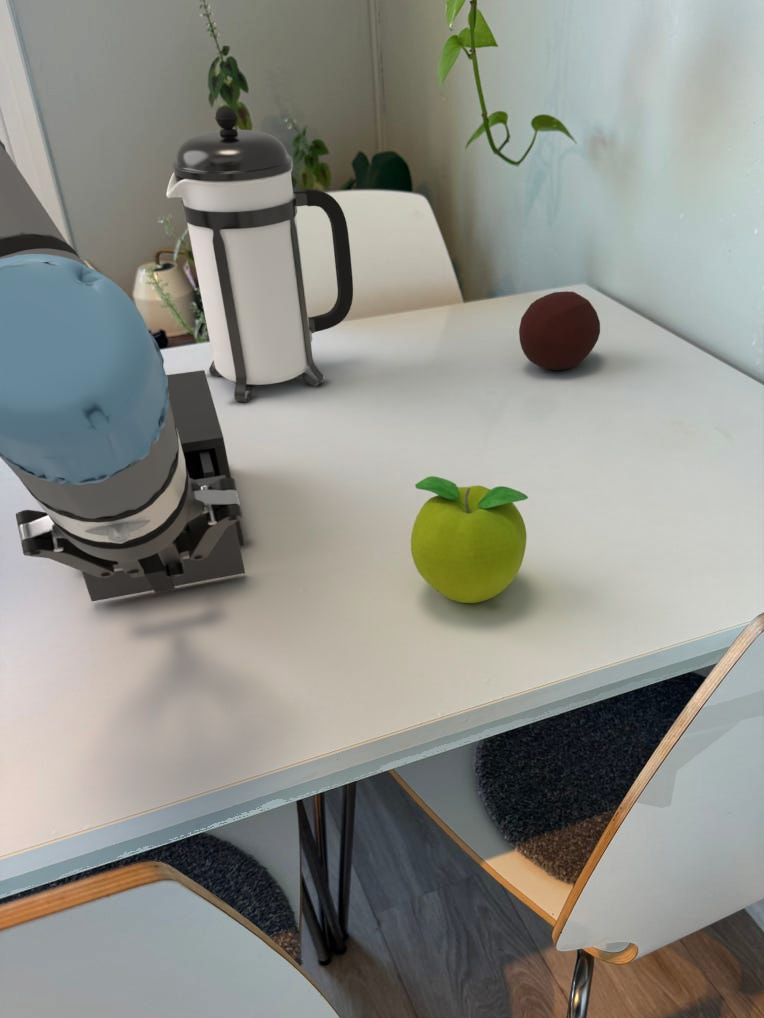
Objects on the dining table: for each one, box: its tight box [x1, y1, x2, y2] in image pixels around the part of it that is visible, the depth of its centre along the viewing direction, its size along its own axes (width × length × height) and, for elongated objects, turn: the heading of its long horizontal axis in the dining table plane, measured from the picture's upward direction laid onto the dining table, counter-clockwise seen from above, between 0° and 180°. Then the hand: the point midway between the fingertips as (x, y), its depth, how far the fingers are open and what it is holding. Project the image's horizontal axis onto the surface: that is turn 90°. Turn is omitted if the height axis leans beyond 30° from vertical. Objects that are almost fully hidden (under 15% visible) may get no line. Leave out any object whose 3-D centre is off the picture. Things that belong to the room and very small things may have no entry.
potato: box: [518, 290, 601, 371], centre depth 115 cm, size 9×12×9 cm
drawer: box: [81, 449, 246, 602], centre depth 79 cm, size 19×13×9 cm, turn 19°
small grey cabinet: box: [166, 369, 245, 546], centre depth 86 cm, size 16×14×11 cm
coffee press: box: [166, 105, 354, 403], centre depth 107 cm, size 17×16×30 cm
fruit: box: [410, 475, 529, 604], centre depth 75 cm, size 9×9×10 cm
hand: (161, 573), depth 71 cm, fingers closed
